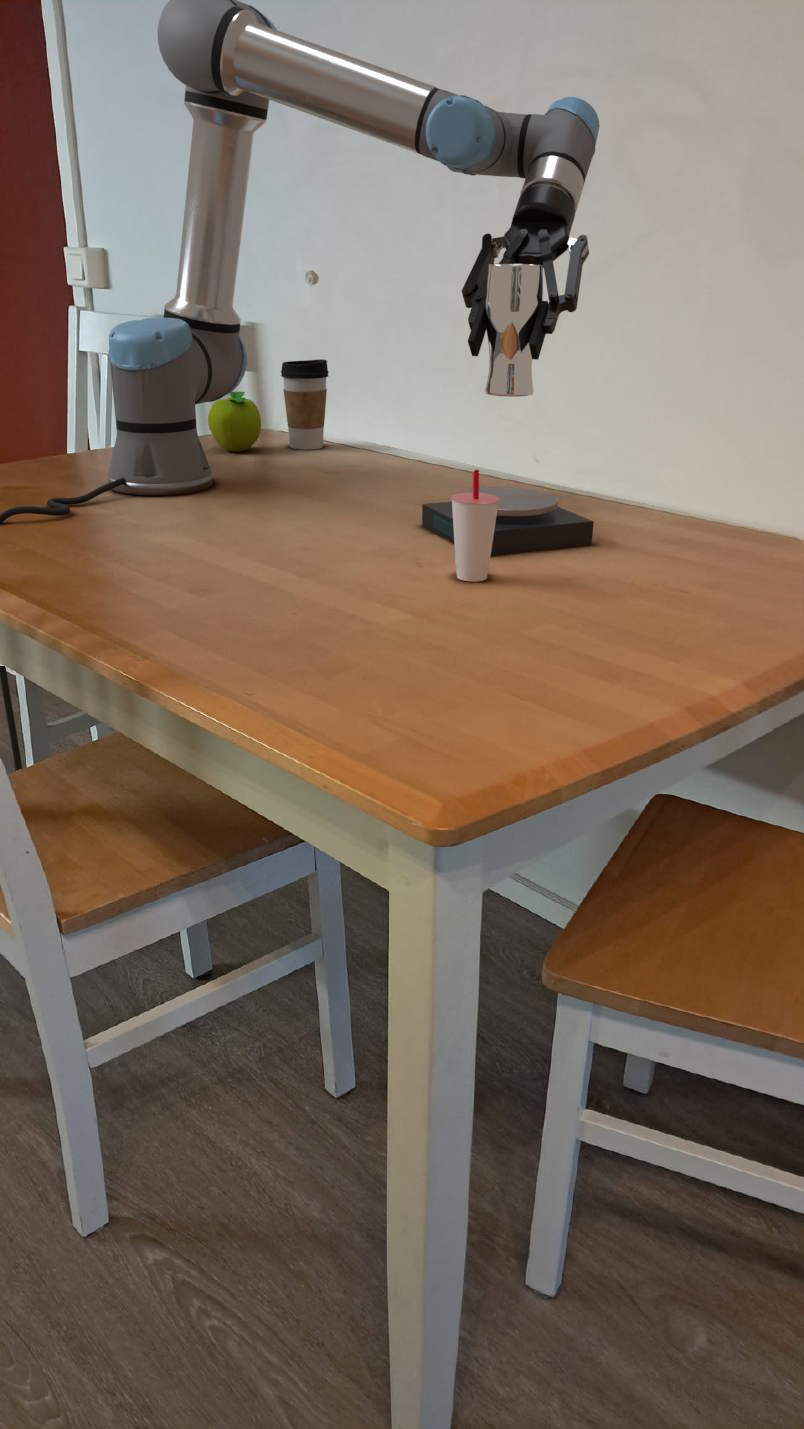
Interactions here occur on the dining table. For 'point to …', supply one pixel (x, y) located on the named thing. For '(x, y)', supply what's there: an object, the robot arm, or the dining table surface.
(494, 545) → the scale
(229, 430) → the fruit
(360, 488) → the dining table surface
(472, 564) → the cup
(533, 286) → the beer glass
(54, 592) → the dining table surface
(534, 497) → the scale pan
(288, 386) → the coffee cup
